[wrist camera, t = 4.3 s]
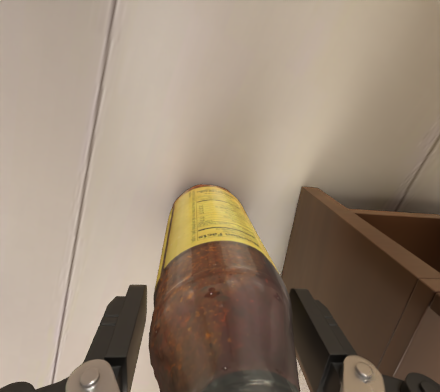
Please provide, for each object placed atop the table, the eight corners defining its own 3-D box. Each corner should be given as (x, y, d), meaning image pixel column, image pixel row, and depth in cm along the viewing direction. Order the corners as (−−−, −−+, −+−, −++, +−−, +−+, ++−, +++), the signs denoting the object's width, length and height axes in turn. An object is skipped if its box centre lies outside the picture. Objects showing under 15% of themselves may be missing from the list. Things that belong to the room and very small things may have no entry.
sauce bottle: (215, 255, 24) (296, 825, 5) (156, 224, 22) (-54, 914, 3) (257, 201, 22) (601, 733, 3) (197, 162, 20) (241, 807, 2)
